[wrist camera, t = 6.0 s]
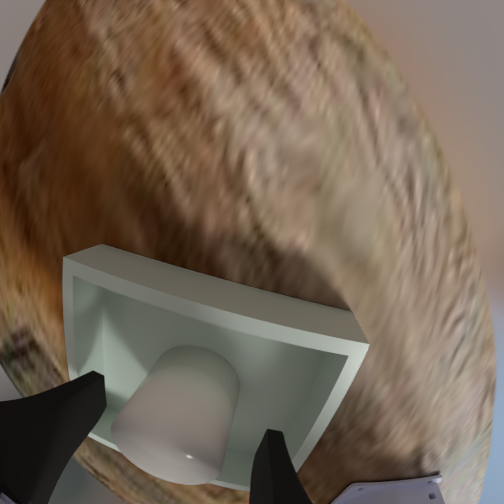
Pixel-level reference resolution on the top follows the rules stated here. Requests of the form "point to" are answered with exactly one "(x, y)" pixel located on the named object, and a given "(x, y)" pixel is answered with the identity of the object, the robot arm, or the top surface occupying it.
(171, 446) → the white rounded cylinder
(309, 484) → the top surface
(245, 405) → the bus tub
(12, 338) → the top surface
